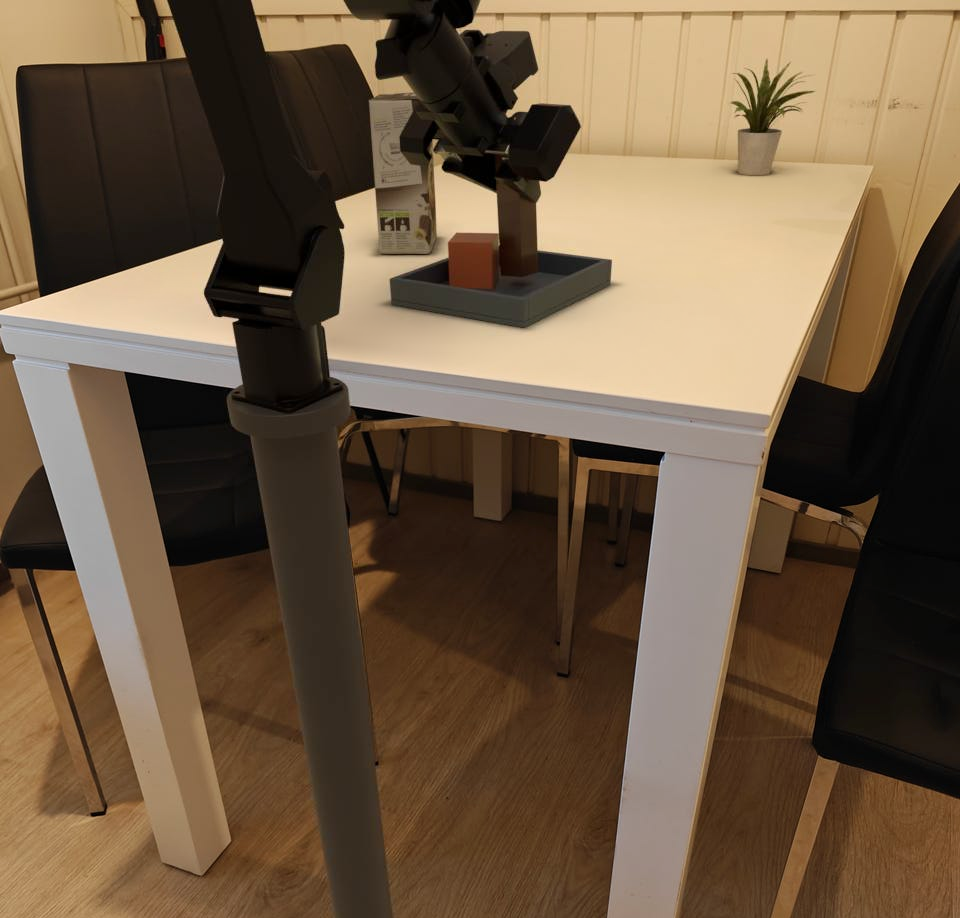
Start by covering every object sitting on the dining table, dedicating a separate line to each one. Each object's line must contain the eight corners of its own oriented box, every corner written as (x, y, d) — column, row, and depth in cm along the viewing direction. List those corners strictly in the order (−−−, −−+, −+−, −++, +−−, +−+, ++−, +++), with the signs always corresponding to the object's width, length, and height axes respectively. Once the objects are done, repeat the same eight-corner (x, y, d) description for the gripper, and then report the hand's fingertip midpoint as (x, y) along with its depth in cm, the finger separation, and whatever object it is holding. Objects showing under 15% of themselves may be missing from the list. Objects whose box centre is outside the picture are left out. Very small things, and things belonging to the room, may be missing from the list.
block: (492, 289, 93) (491, 242, 90) (449, 288, 94) (447, 241, 91) (499, 278, 97) (498, 233, 94) (457, 277, 97) (456, 232, 95)
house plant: (758, 184, 144) (776, 62, 134) (691, 174, 153) (703, 59, 143) (812, 173, 151) (833, 57, 141) (745, 164, 160) (761, 54, 150)
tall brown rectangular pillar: (522, 277, 92) (516, 119, 85) (500, 275, 94) (492, 120, 87) (538, 272, 94) (533, 117, 87) (516, 271, 96) (510, 118, 88)
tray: (524, 327, 84) (524, 299, 82) (391, 304, 91) (389, 278, 89) (610, 284, 96) (612, 259, 94) (487, 267, 103) (486, 243, 101)
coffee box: (431, 254, 108) (424, 97, 99) (378, 255, 109) (366, 98, 99) (438, 238, 116) (432, 90, 106) (388, 238, 116) (378, 91, 107)
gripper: (572, -9, 73) (640, 133, 86) (413, -5, 84) (495, 121, 97) (506, 111, 73) (584, 236, 86) (356, 100, 84) (445, 212, 96)
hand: (525, 196), depth 91 cm, fingers closed on tall brown rectangular pillar, 3 cm apart
